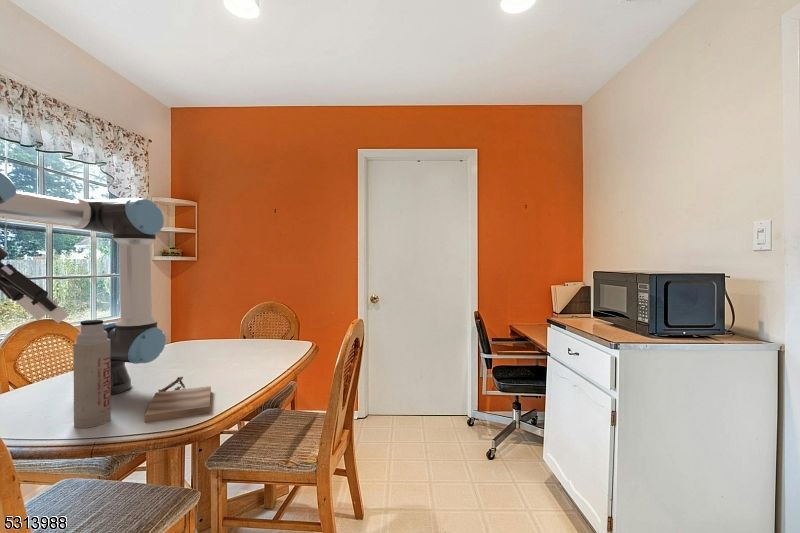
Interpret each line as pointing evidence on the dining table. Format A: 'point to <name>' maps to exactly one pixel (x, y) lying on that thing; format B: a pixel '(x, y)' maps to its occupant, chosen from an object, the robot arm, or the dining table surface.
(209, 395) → the walnut board
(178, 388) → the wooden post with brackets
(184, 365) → the dining table surface
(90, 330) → the thermos bottle
